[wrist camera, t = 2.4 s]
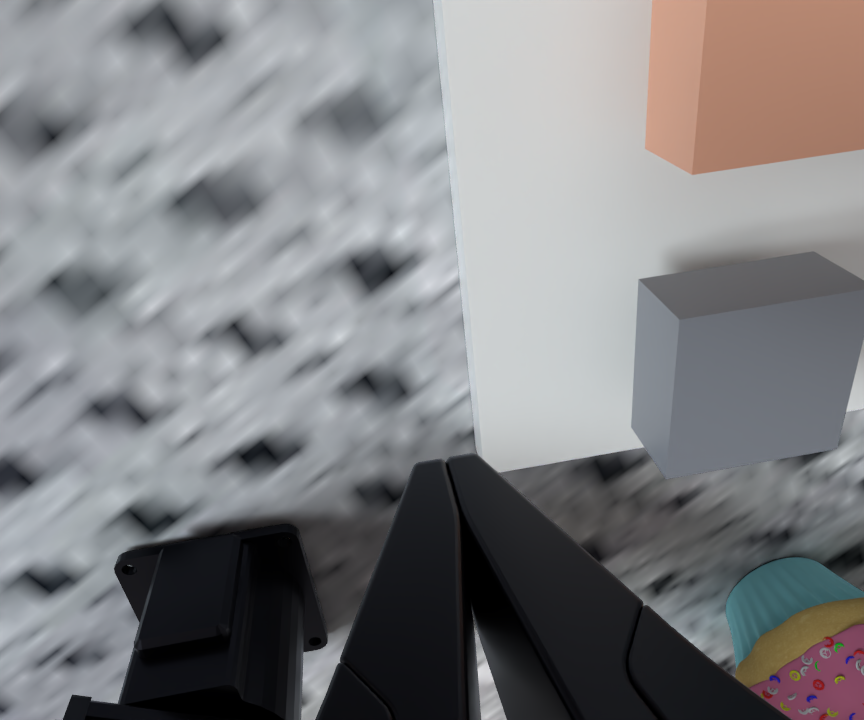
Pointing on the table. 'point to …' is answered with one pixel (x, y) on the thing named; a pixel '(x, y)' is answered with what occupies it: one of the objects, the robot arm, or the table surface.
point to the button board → (592, 217)
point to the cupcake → (800, 639)
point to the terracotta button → (754, 81)
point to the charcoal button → (745, 362)
